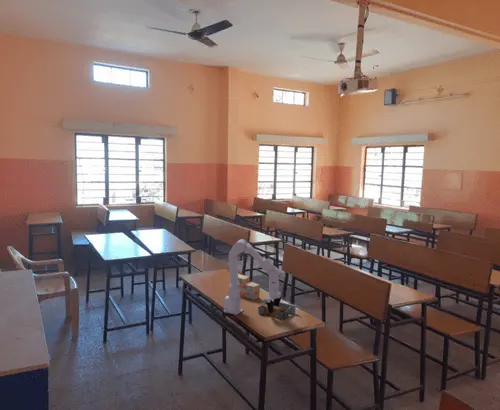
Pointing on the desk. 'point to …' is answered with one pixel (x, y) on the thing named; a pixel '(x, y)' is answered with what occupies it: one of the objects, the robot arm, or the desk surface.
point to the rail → (273, 310)
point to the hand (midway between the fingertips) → (273, 310)
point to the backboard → (286, 306)
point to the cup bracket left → (261, 310)
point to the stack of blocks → (248, 287)
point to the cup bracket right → (283, 314)
